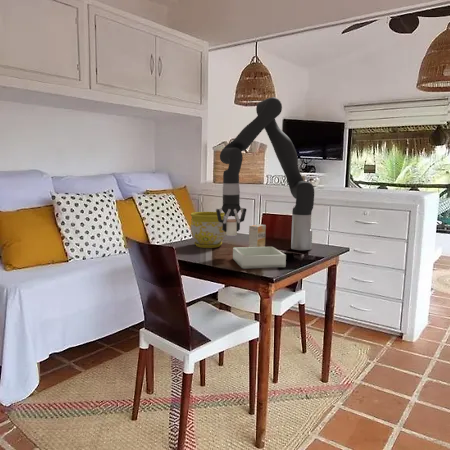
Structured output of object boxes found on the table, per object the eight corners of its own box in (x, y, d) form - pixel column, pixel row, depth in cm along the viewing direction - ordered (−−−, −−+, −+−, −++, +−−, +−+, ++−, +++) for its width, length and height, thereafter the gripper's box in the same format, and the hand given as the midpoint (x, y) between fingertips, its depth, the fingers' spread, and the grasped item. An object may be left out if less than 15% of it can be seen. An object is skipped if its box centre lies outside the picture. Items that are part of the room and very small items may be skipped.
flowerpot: (229, 248, 210) (230, 215, 207) (193, 249, 206) (193, 216, 203) (221, 241, 227) (221, 211, 225) (187, 243, 223) (187, 211, 220)
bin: (272, 257, 191) (272, 246, 190) (285, 267, 173) (285, 255, 173) (232, 258, 187) (233, 247, 187) (242, 268, 170) (242, 256, 169)
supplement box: (257, 254, 196) (258, 226, 194) (248, 253, 199) (248, 225, 197) (265, 251, 203) (266, 224, 201) (256, 250, 206) (257, 223, 204)
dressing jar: (235, 233, 195) (235, 218, 194) (237, 235, 190) (237, 220, 189) (224, 234, 194) (224, 218, 193) (226, 236, 189) (226, 220, 188)
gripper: (244, 192, 194) (244, 229, 197) (213, 193, 191) (213, 230, 194) (248, 193, 187) (248, 232, 189) (216, 194, 184) (217, 233, 186)
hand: (231, 231), depth 191 cm, fingers closed on dressing jar, 5 cm apart
